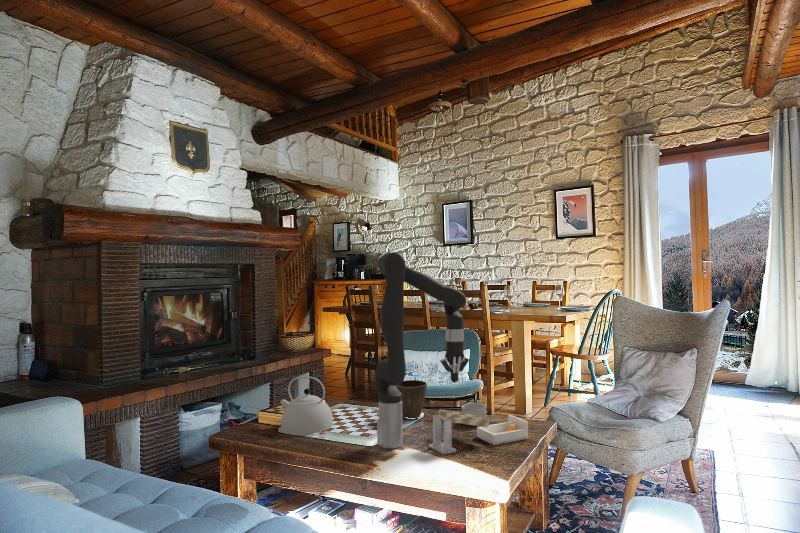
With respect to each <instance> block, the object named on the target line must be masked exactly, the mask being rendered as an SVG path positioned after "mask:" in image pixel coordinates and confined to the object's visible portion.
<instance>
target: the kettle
mask: <svg viewBox="0 0 800 533" xmlns="http://www.w3.org/2000/svg"><path fill="white" fill-rule="evenodd" d="M299 379H312V380H314V381H316V382H318V383H319V384H320V386H321V388H322V391H323V393H322V394H323V395H322V398H320V397H319V396H316V395H312V394H310V392H311V391H310V388H305V389H304V390H303V394H304V395H299V396H297V397H295V398H294V399H293V397H292V394H291V385H292V384H293V382H294V381H296V380H299ZM287 394H288V396H289V398H290V400H291V401H290V402H289V401H288V400H286V399H282V400H280V401H279V403H280V404H281V405H282V406H283V407H284V408H285V409H284V410H283V413H282V415H281V422H280V431H281V432H282V433H284V434H287V435H292V436H311V435H310V434H313V433H316V432H320V431H324V430H327V429H329V428H331V427H332V426H333V427H334V418H333V413H332V410H331V408H330V406H329V404H327V402H325V400H324V399H325V396H326V390H325V386H324V384H323V383H322V381H321V380H320V379H318V378H316V377H313V376H310V375H309V376H308V375H304V376H303V375H302V376H301V375H300V376H296V377H294V378H292V379H291V380H290V381H289V384H288V387H287ZM313 435H314V434H313Z"/></svg>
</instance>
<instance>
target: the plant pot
mask: <svg viewBox="0 0 800 533" xmlns="http://www.w3.org/2000/svg"><path fill="white" fill-rule="evenodd" d="M427 385H428V383H427V381H426V382H425V381H423V380H415V379H414V380H412V379H406V380H403V382H402V383H401V384H399V385H396V386H397V388H398V390H399V391H400V392H401V394H402V418H403V417H408V418H417V417H419V418H421V414H422V411H423V408H424V404H425V398H426V394H427Z"/></svg>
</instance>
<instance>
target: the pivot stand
mask: <svg viewBox="0 0 800 533" xmlns="http://www.w3.org/2000/svg"><path fill="white" fill-rule="evenodd" d="M452 423H453V422H452V421H451V420H450V419H449V420H443V419H441V418H438V414H435V415H432V440H433V441H432V443H429V444H428V447H429V448H430V449H432V450H434V452H437V453H439V454H440V455H443V456H444V455H448V454H449V455H450V454H454V453H457V449H456V448H455V447H453V446H452V445H453V443H452V442H453V440H452V439H453V437H452V435H453V434H452V433H453V432H452V426H453V424H452ZM442 426H443V428H442ZM442 430H443V431H442ZM442 433H443V436H442ZM442 437H443V438H442ZM442 440H443V441H442Z"/></svg>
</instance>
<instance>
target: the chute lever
mask: <svg viewBox="0 0 800 533" xmlns="http://www.w3.org/2000/svg"><path fill="white" fill-rule="evenodd" d="M437 415H438V418H441V420H442V421H443V420H449V419H450V420H451V421H452V423H457V424H463V425H468V426H469V425H470V426H476V427H488V425H490V419H487V418H486V419H482V418H481V416H476V415H470V414H464V413H462V412H456V411H453V410H452V411H451V410H447V409H439V410H438V414H437Z"/></svg>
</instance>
